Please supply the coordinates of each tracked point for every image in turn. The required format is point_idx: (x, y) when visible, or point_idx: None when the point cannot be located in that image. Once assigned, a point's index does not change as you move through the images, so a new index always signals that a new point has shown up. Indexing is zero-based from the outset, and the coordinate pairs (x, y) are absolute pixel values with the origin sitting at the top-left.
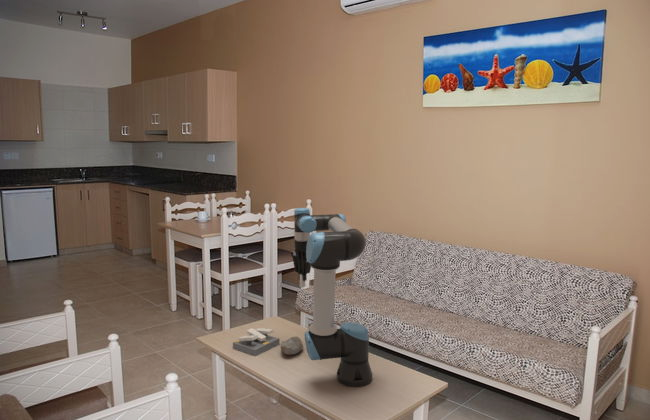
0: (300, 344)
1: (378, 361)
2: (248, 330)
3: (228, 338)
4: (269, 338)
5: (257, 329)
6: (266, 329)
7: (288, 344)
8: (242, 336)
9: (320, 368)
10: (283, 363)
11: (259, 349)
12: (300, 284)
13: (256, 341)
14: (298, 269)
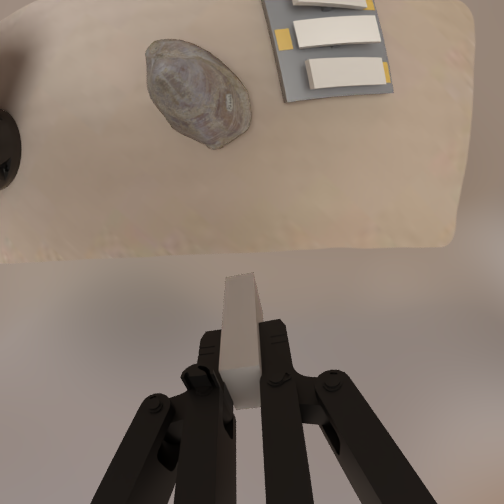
0: (159, 109)
1: (28, 249)
2: (370, 19)
3: (432, 37)
4: None
5: (376, 67)
6: (342, 77)
7: (155, 53)
8: (365, 2)
9: (60, 105)
10: (150, 31)
11: (264, 4)
12: (245, 289)
13: None
14: (288, 415)
